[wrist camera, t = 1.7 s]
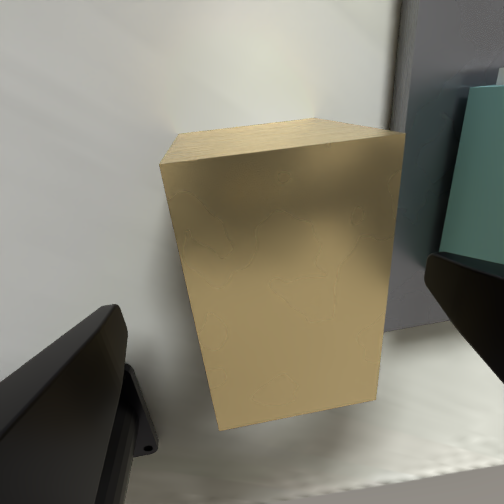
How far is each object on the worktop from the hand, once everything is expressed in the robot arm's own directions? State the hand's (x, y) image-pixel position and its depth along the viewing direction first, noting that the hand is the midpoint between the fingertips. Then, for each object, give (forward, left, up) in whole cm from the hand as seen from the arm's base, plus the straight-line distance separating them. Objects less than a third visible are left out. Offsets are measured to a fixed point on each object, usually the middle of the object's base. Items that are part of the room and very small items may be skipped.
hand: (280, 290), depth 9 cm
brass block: (0, 0, -5) cm, 5 cm away
